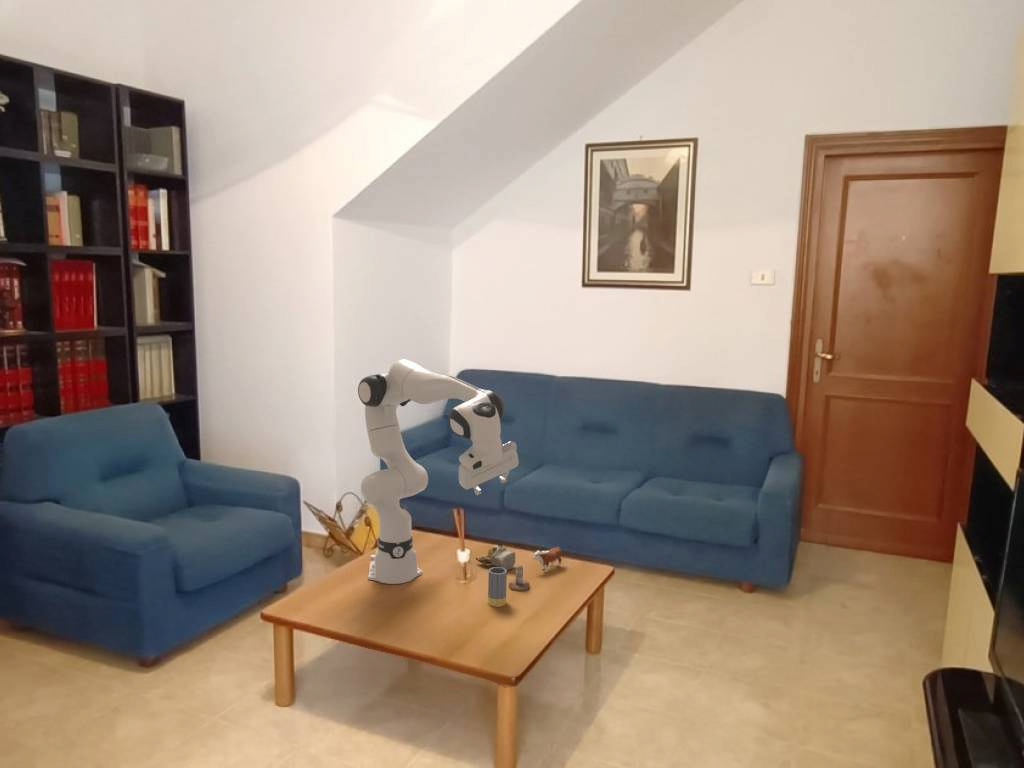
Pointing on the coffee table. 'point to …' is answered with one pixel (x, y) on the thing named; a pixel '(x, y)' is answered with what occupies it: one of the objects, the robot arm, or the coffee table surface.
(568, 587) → the coffee table surface
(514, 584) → the pin stand
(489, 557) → the ceramic sculpture
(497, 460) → the robot arm
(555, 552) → the bull figurine
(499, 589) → the sleeve
